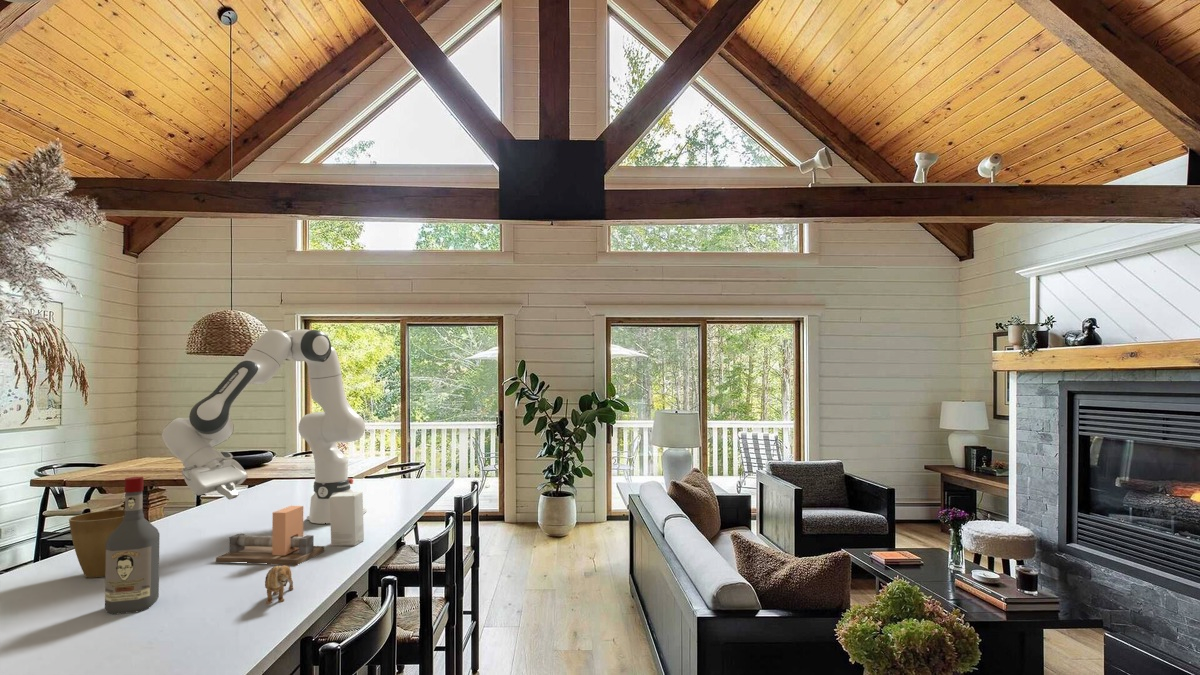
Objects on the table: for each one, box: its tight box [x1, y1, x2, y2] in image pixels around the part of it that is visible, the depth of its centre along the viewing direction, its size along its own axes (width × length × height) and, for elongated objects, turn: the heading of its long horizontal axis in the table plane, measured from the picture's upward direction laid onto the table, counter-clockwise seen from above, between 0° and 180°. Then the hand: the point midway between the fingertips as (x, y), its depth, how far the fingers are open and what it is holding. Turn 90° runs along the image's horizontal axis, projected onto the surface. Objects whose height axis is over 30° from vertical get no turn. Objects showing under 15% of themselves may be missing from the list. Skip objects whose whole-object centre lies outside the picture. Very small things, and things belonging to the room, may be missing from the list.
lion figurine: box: [264, 565, 294, 605], centre depth 162 cm, size 15×5×9 cm, turn 19°
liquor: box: [104, 476, 160, 615], centre depth 157 cm, size 9×9×30 cm
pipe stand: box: [215, 533, 325, 566], centre depth 196 cm, size 14×25×6 cm, turn 83°
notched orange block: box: [271, 505, 304, 555], centre depth 196 cm, size 9×4×12 cm, turn 173°
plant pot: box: [68, 509, 125, 579], centre depth 182 cm, size 15×15×16 cm
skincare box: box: [329, 491, 365, 547], centre depth 210 cm, size 8×7×16 cm
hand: (234, 497), depth 198 cm, fingers closed
